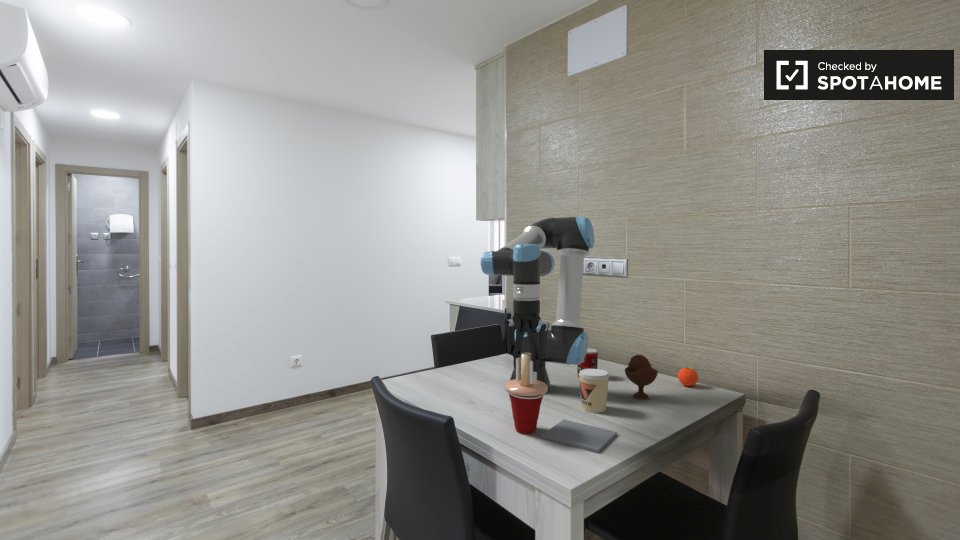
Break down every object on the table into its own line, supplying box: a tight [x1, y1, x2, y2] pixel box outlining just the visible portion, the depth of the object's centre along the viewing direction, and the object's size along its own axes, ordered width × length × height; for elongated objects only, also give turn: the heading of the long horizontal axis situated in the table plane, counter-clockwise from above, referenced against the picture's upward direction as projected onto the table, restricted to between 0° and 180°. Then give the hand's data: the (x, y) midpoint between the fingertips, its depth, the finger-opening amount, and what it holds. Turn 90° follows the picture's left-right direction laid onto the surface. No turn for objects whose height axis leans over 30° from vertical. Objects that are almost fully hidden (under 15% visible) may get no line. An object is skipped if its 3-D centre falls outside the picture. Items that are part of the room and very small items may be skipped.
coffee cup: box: [579, 368, 610, 414], centre depth 144 cm, size 9×9×12 cm
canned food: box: [576, 347, 599, 379], centre depth 181 cm, size 8×8×11 cm
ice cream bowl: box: [624, 354, 659, 400], centre depth 156 cm, size 11×11×15 cm
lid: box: [504, 353, 549, 396], centre depth 126 cm, size 12×12×10 cm
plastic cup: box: [507, 392, 546, 435], centre depth 127 cm, size 11×11×12 cm
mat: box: [541, 419, 618, 454], centre depth 123 cm, size 16×14×1 cm
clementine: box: [677, 366, 699, 387], centre depth 169 cm, size 8×7×7 cm
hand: (526, 381), depth 126 cm, fingers open, 4 cm apart
